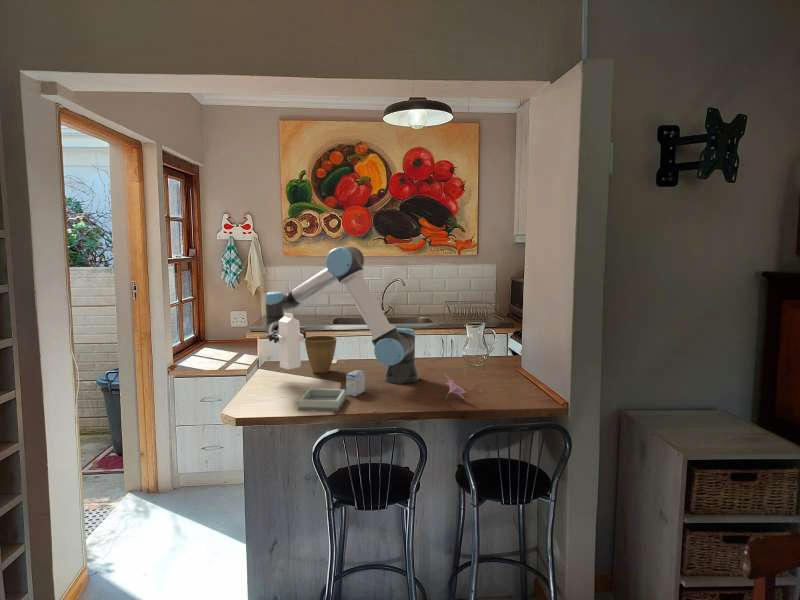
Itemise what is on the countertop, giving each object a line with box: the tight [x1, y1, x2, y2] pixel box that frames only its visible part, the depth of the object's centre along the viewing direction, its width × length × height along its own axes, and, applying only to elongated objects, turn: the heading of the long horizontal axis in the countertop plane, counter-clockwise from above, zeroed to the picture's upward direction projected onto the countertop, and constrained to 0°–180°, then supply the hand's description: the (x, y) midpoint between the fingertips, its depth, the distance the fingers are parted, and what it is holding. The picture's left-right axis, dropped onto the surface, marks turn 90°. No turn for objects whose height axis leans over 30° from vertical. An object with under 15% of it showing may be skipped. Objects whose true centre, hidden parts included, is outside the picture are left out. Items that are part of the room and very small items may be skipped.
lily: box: [443, 373, 466, 400], centre depth 198 cm, size 12×12×10 cm
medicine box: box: [345, 369, 366, 397], centre depth 206 cm, size 8×4×9 cm, turn 155°
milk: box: [278, 311, 302, 371], centre depth 203 cm, size 6×6×22 cm
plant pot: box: [304, 335, 337, 374], centre depth 239 cm, size 15×15×16 cm
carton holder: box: [297, 388, 347, 412], centre depth 193 cm, size 15×15×4 cm
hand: (292, 339), depth 199 cm, fingers closed on milk, 8 cm apart
